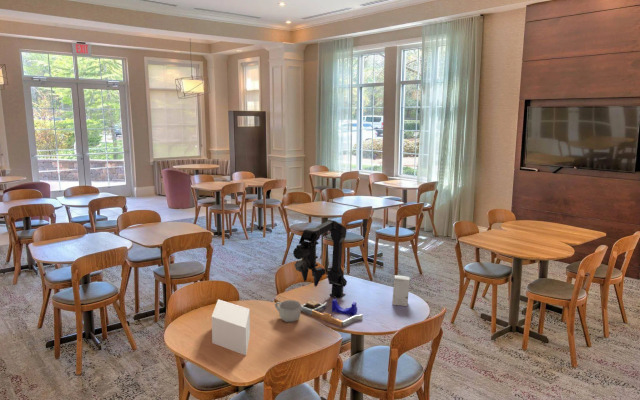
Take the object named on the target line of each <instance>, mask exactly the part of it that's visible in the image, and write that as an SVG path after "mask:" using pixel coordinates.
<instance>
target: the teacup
mask: <svg viewBox="0 0 640 400" xmlns="http://www.w3.org/2000/svg"><path fill="white" fill-rule="evenodd" d="M301 305H302V303H300V301H298V300H295V299H294V300H293V299H288V300H283V301H277V302H275V303H274V307H275V310H277V311H278V314H279V318H280V319H281V320H282V321H283V322H286V323H294V322H296V321H297V320H298V319H300V316H301V313H302V311H301Z"/></svg>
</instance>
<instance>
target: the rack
mask: <svg viewBox="0 0 640 400" xmlns="http://www.w3.org/2000/svg"><path fill="white" fill-rule="evenodd" d="M327 307H328V301H325V302H324V303H323V304H322V303H321V302H317V301H315V300H309V301H306V302H305V303H304V304H301V313H305V314H307V315H310V316H313V317H315V318H318V319H320V320H323V321H325V322H328V323H331V324H333V325H337V326H339V327H341V328H344V327H346V326H349V325H350V324H352V323H354V322H358V321H363V314H355V315H351V317H349V318H346V319H345V320H340V319H338V318H335V317H333V316H332V314H331V313H328V312H323V311H325V310H326V309H327ZM321 312H323V313H321Z"/></svg>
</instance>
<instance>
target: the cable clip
mask: <svg viewBox="0 0 640 400" xmlns="http://www.w3.org/2000/svg"><path fill="white" fill-rule="evenodd" d="M331 312H332V313H338V314H344V315H348V316H349V315H350V316H355V315H357V313H358V306H357V302H354V301H353V302H352V304H351V305H350V307H345V308H343V307H342V306H340V305H339V302H338V298H333V299H332V301H331Z"/></svg>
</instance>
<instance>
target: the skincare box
mask: <svg viewBox="0 0 640 400" xmlns="http://www.w3.org/2000/svg"><path fill="white" fill-rule="evenodd" d="M410 278H411V277H410V276H408V275H407V276H406V275H398V274H397V275H396V274H395V275H394V277H393V290H392V305H393V306H403V307H408V303H409V292H410V280H411V279H410Z"/></svg>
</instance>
